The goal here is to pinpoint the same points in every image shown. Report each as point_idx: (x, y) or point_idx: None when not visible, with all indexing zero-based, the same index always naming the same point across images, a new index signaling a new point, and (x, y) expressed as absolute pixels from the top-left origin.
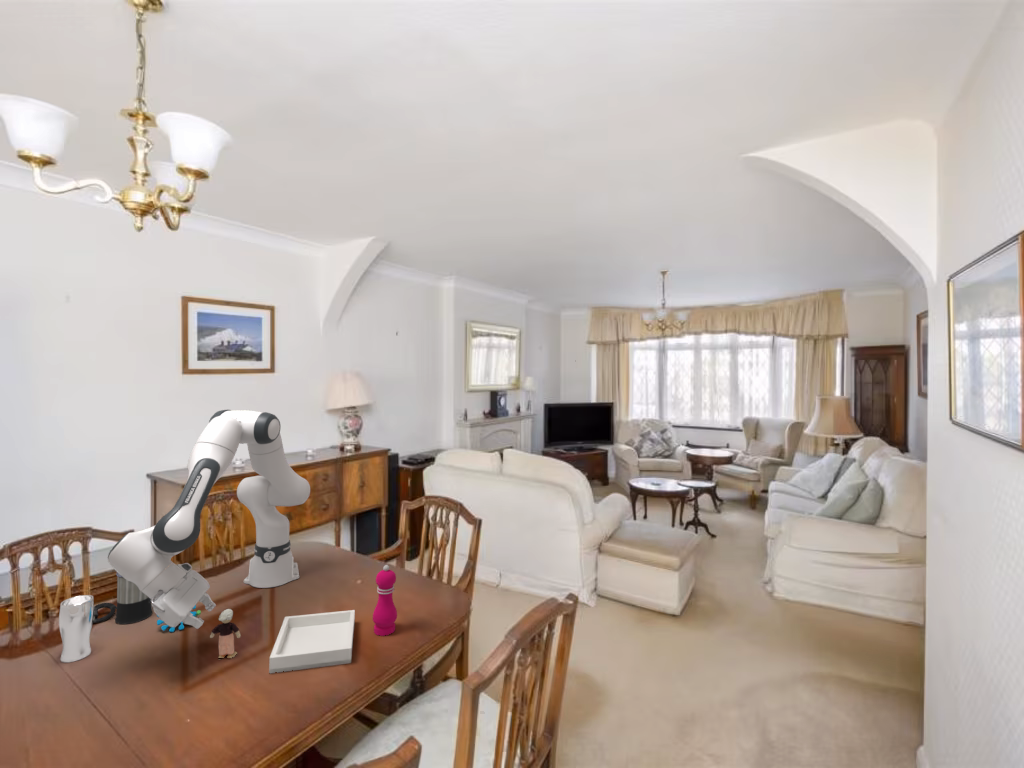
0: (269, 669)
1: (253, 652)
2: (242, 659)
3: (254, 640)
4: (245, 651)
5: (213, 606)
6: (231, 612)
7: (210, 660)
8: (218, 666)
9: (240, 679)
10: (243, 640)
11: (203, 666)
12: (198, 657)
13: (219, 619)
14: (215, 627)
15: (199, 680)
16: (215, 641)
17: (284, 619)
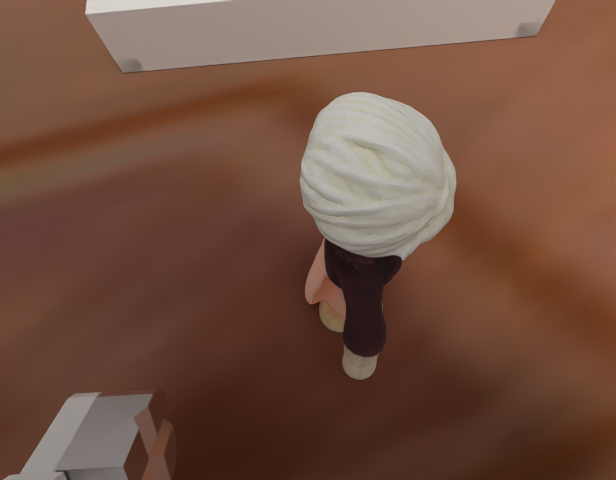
0: (545, 18)
1: None
2: None
3: (197, 190)
4: None
5: (154, 398)
6: (378, 97)
7: (386, 367)
8: (457, 293)
9: (585, 140)
10: (181, 250)
11: (451, 385)
12: (339, 464)
13: (437, 230)
14: (373, 317)
15: (600, 348)
16: None
17: (121, 9)
